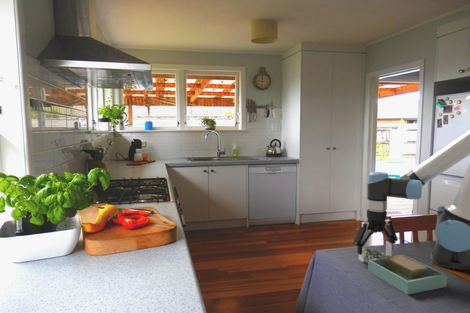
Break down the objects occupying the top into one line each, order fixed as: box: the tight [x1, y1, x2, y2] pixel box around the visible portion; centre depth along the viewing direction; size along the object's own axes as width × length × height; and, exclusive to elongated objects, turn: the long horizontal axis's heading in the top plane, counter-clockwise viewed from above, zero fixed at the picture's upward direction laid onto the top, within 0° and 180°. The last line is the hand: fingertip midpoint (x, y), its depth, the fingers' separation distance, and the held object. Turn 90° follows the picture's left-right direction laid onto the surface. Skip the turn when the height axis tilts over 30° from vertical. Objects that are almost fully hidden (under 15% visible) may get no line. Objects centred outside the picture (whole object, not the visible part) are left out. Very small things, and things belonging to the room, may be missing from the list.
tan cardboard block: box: [385, 254, 428, 281], centre depth 114 cm, size 7×12×6 cm, turn 17°
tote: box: [367, 254, 448, 296], centre depth 114 cm, size 17×19×5 cm
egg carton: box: [365, 248, 390, 260], centre depth 132 cm, size 11×8×4 cm
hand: (375, 259), depth 132 cm, fingers open, 13 cm apart
